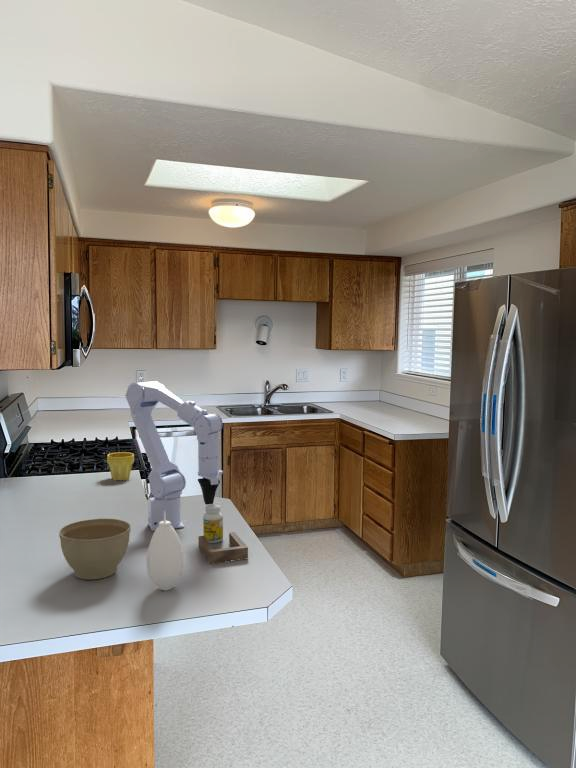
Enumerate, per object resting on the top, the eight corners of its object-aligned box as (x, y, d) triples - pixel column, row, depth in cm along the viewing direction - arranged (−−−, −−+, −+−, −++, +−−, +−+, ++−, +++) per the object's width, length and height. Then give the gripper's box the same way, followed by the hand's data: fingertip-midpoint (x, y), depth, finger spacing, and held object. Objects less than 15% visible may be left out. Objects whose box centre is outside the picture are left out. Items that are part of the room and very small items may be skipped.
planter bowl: (132, 582, 134) (131, 536, 133) (57, 590, 129) (55, 542, 128) (130, 556, 149) (129, 515, 148) (63, 563, 145) (62, 520, 144)
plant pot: (140, 477, 232) (139, 453, 232) (119, 483, 224) (119, 458, 223) (122, 474, 238) (121, 450, 237) (101, 479, 229) (101, 455, 228)
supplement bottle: (226, 538, 164) (225, 504, 163) (218, 544, 158) (217, 510, 158) (208, 536, 165) (208, 502, 164) (200, 542, 160) (199, 508, 159)
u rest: (209, 564, 145) (209, 552, 144) (198, 547, 156) (198, 536, 156) (247, 558, 148) (247, 547, 148) (234, 542, 160) (234, 531, 160)
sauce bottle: (166, 599, 125) (165, 517, 124) (140, 591, 129) (139, 511, 128) (190, 586, 132) (189, 508, 130) (165, 578, 136) (164, 503, 134)
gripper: (229, 460, 159) (229, 509, 161) (215, 451, 173) (216, 495, 174) (203, 462, 157) (204, 511, 158) (192, 452, 170) (192, 498, 171)
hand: (208, 503), depth 166 cm, fingers closed
